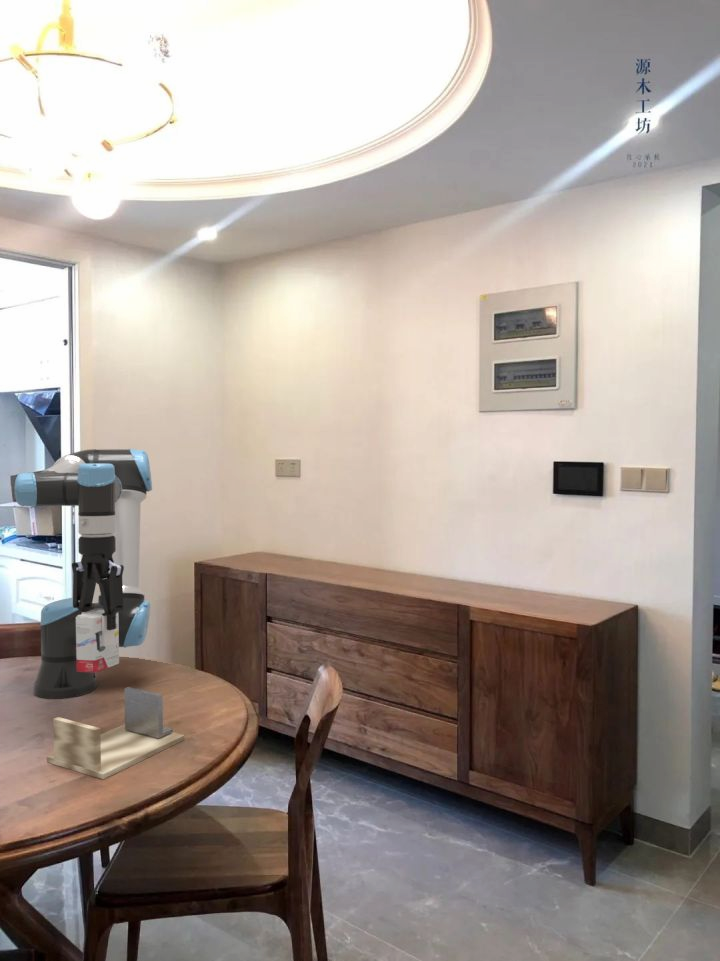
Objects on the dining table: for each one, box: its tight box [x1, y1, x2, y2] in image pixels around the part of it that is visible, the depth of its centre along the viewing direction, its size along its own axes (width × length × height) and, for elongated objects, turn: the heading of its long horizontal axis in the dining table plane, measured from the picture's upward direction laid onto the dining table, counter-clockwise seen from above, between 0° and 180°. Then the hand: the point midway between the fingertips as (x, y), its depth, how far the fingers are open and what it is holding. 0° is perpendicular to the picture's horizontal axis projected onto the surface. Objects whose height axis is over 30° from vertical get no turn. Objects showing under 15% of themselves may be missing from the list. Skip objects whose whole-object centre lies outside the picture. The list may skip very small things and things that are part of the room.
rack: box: [46, 716, 185, 780], centre depth 153 cm, size 16×22×9 cm
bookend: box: [124, 686, 174, 738], centre depth 161 cm, size 10×4×9 cm, turn 60°
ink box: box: [76, 610, 120, 674], centre depth 159 cm, size 9×5×12 cm, turn 161°
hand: (98, 642), depth 159 cm, fingers closed on ink box, 6 cm apart
